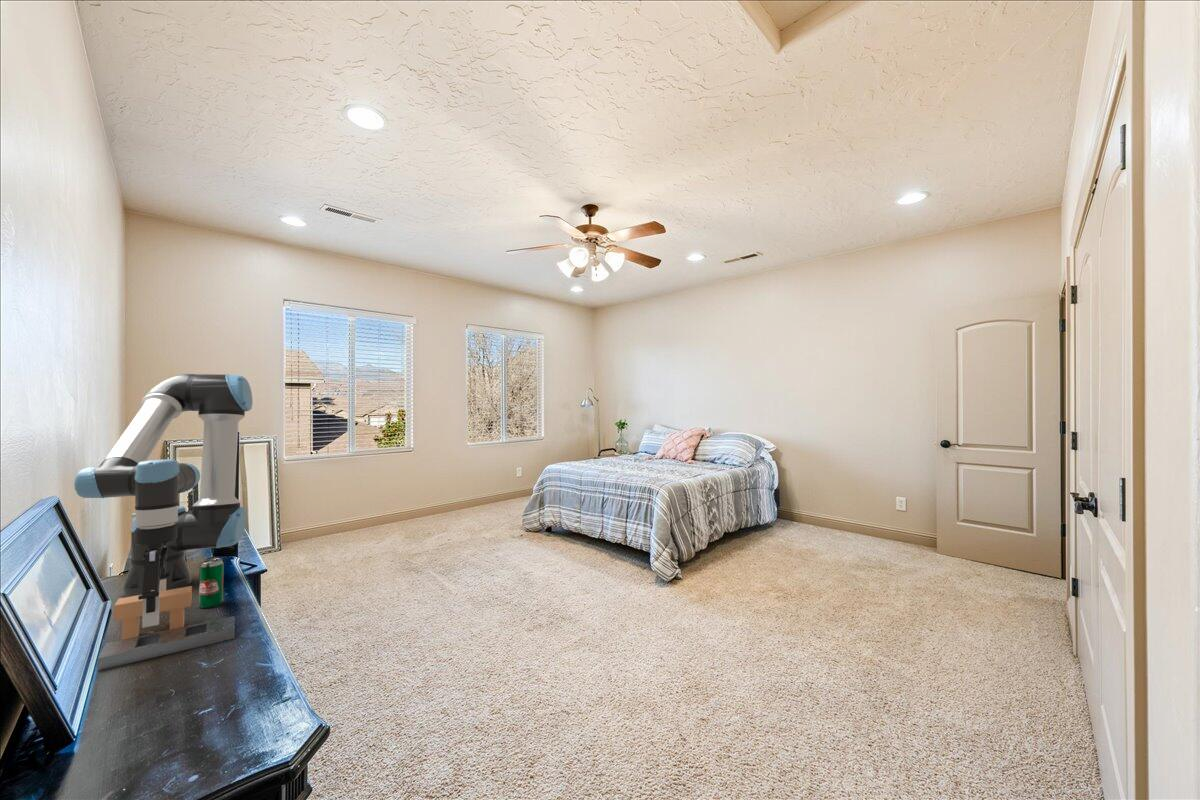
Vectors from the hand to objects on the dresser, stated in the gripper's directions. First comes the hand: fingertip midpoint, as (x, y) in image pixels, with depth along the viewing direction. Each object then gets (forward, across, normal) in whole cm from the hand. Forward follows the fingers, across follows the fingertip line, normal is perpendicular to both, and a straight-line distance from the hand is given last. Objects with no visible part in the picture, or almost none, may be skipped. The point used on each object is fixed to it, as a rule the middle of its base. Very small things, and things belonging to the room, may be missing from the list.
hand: (154, 615), depth 112 cm
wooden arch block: (+4, 0, 0) cm, 4 cm away
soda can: (+4, -13, +10) cm, 17 cm away
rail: (+4, +11, +4) cm, 12 cm away
